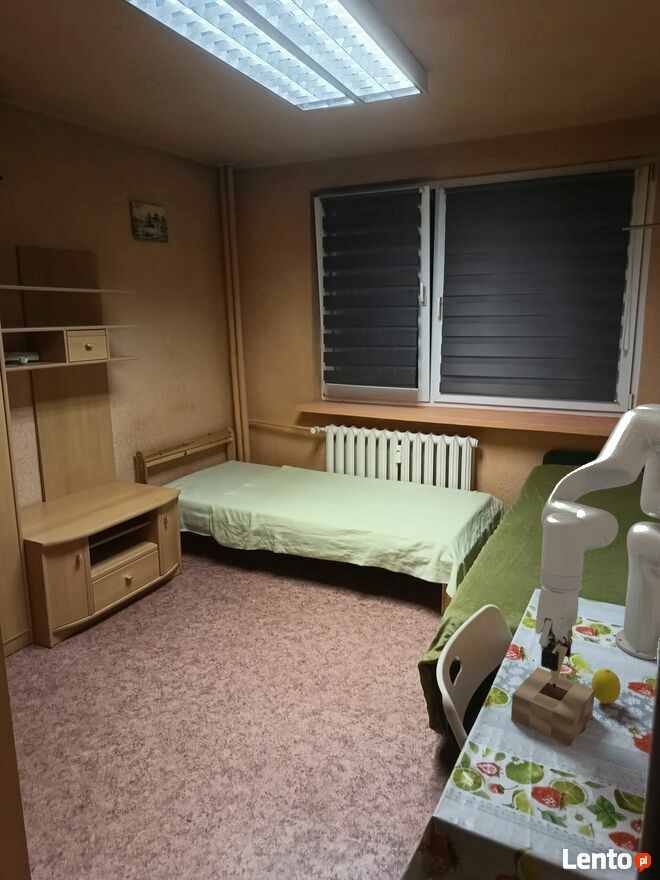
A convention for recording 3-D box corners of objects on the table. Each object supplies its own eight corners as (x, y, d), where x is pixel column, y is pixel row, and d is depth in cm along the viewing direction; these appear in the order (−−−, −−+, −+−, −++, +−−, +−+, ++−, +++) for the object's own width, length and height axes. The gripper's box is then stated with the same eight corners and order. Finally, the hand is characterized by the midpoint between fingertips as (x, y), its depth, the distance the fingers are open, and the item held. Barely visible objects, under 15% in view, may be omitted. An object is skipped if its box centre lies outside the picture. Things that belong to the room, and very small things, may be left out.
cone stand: (535, 691, 131) (537, 667, 130) (592, 715, 123) (594, 689, 122) (511, 719, 122) (512, 693, 121) (570, 747, 114) (572, 719, 113)
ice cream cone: (538, 694, 120) (542, 626, 117) (539, 678, 125) (543, 612, 122) (568, 700, 118) (573, 631, 115) (568, 684, 123) (573, 616, 120)
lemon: (622, 713, 124) (625, 678, 122) (593, 710, 125) (596, 675, 123) (615, 696, 129) (618, 663, 127) (587, 693, 130) (590, 660, 128)
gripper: (559, 558, 125) (554, 637, 129) (523, 587, 112) (518, 673, 116) (596, 567, 120) (590, 649, 124) (563, 599, 108) (557, 689, 111)
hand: (555, 660), depth 120 cm, fingers closed on ice cream cone, 5 cm apart
